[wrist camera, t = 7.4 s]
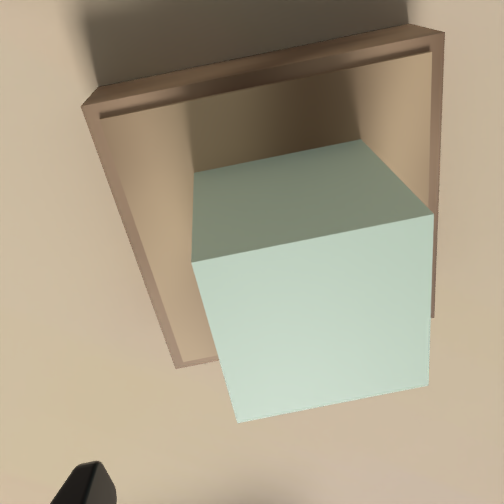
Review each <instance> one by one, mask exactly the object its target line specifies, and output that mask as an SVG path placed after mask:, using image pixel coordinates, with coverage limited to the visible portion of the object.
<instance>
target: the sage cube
mask: <svg viewBox="0 0 504 504" xmlns="http://www.w3.org/2000/svg"><path fill="white" fill-rule="evenodd" d="M433 229H434V214H433V213H432V212H431V211H430V210H429V209H428V207H427V206H426V205H425V204H424V203H423V202H422V201H421V200H420V199H419V198H418V197H417V196H416V195H415V194H414V193H413V192H412V191H411V190H410V189H409V188H408V187H407V186H406V185H405V184H404V183H403V182H402V181H401V180H400V179H399V178H398V177H397V176H396V175H395V174H394V173H393V171H392V170H391V169H390V168H389V167H388V166H387V165H386V164H385V163H384V162H383V161H382V160H381V159H380V158H379V157H378V156H377V155H376V154H375V153H374V152H373V151H372V150H371V149H370V148H369V147H368V146H367V145H366V144H365V143H364V142H363V141H362V140H361V139H359V140H354V141H349V142H345V143H340V144H335V145H330V146H325V147H320V148H315V149H310V150H305V151H300V152H295V153H290V154H285V155H280V156H275V157H270V158H265V159H260V160H255V161H250V162H245V163H240V164H235V165H230V166H225V167H221V168H216V169H211V170H206V171H201V172H196V173H194V186H193V220H192V254H191V264H192V267H193V271H194V274H195V277H196V281H197V284H198V288H199V291H200V295H201V298H202V302H203V305H204V309H205V312H206V316H207V319H208V323H209V326H210V329H211V333H212V336H213V340H214V343H215V347H216V350H217V354H218V357H219V361H220V364H221V368H222V371H223V374H224V378H225V381H226V385H227V388H228V392H229V395H230V399H231V402H232V406H233V409H234V413H235V416H236V419H237V423H241V422H246V421H251V420H256V419H261V418H266V417H271V416H276V415H281V414H286V413H291V412H296V411H302V410H307V409H312V408H317V407H322V406H327V405H332V404H337V403H342V402H347V401H352V400H357V399H362V398H367V397H372V396H377V395H383V394H388V393H393V392H398V391H403V390H408V389H413V388H418V387H423V386H428V381H429V350H430V320H431V290H432V259H433Z"/></svg>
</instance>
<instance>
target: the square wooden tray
mask: <svg viewBox="0 0 504 504" xmlns="http://www.w3.org/2000/svg"><path fill="white" fill-rule="evenodd" d="M444 40H445V32H442V31H437V30H433V29H429V28H425V27H421V26H417V25H413V24H405V25H400V26H396V27H391V28H386V29H381V30H376V31H371V32H366V33H361V34H356V35H351V36H347V37H342V38H337V39H332V40H327V41H322V42H317V43H312V44H307V45H302V46H298V47H293V48H288V49H283V50H278V51H273V52H268V53H263V54H258V55H253V56H248V57H244V58H239V59H234V60H229V61H224V62H219V63H214V64H209V65H204V66H199V67H195V68H190V69H185V70H180V71H175V72H170V73H165V74H160V75H155V76H150V77H146V78H141V79H136V80H131V81H126V82H121V83H116V84H111V85H106V86H101V87H98V88H97V89H96V90H95V91H94V92H93V93H92V94H91V96H90V97H89V98H88V99H87V100H86V101H85V102H84V103H83V105H82V106H81V108H82V111H83V114H84V117H85V119H86V122H87V125H88V128H89V131H90V133H91V136H92V139H93V142H94V144H95V147H96V150H97V153H98V155H99V158H100V161H101V164H102V166H103V169H104V172H105V175H106V178H107V180H108V183H109V186H110V189H111V191H112V194H113V197H114V200H115V202H116V205H117V208H118V211H119V214H120V216H121V219H122V222H123V225H124V227H125V230H126V233H127V236H128V238H129V241H130V244H131V247H132V249H133V252H134V255H135V258H136V261H137V263H138V266H139V269H140V272H141V274H142V277H143V280H144V283H145V285H146V288H147V291H148V294H149V297H150V299H151V302H152V305H153V308H154V310H155V313H156V316H157V319H158V321H159V324H160V327H161V330H162V332H163V335H164V338H165V341H166V344H167V346H168V349H169V352H170V355H171V357H172V360H173V363H174V366H175V368H176V369H178V368H183V367H188V366H193V365H198V364H203V363H208V362H213V361H218V360H219V357H218V354H217V350H216V347H215V343H214V340H213V336H212V333H211V329H210V326H209V323H208V319H207V316H206V312H205V309H204V305H203V302H202V298H201V295H200V291H199V288H198V284H197V281H196V277H195V274H194V271H193V267H192V264H191V254H192V220H193V186H194V173H196V172H201V171H206V170H211V169H216V168H221V167H225V166H230V165H235V164H240V163H245V162H250V161H255V160H260V159H265V158H270V157H275V156H280V155H285V154H290V153H295V152H300V151H305V150H310V149H315V148H320V147H325V146H330V145H335V144H340V143H345V142H349V141H354V140H359V139H361V140H362V141H363V142H364V143H365V144H366V145H367V146H368V147H369V148H370V149H371V150H372V151H373V152H374V153H375V154H376V155H377V156H378V157H379V158H380V159H381V160H382V161H383V162H384V163H385V164H386V165H387V166H388V167H389V168H390V169H391V170H392V171H393V173H394V174H395V175H396V176H397V177H398V178H399V179H400V180H401V181H402V182H403V183H404V184H405V185H406V186H407V187H408V188H409V189H410V190H411V191H412V192H413V193H414V194H415V195H416V196H417V197H418V198H419V199H420V200H421V201H422V202H423V203H424V204H425V205H426V206H427V207H428V209H429V210H430V211H431V212H432V213H433V214H434V229H433V259H432V290H431V318H434V309H435V282H436V256H437V229H438V202H439V175H440V148H441V121H442V94H443V67H444Z"/></svg>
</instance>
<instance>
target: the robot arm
mask: <svg viewBox="0 0 504 504" xmlns="http://www.w3.org/2000/svg"><path fill="white" fill-rule="evenodd" d="M116 502H117V496H116V489H115V486H114V484H113V482H112V480H111V478H110V476H109V475H108V473H107V471H106V469H105V467H104V466H103V464H102V463H101V462H99V461H93V462H88V463H83V464H80V465H78V466H76V467H75V468H74V470H73V471H72V473H71V474H70V475H69V477H68V478H67V480H66V481H65V483H64V484H63V486H62V487H61V489H60V490H59V491H58V493H57V494H56V496H55V497H54V499H53V500H52V502H51V503H50V504H116Z"/></svg>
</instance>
